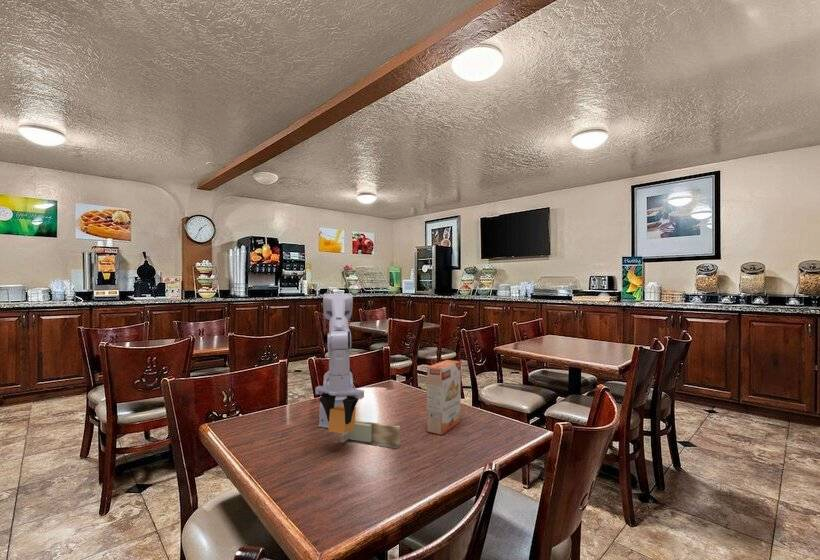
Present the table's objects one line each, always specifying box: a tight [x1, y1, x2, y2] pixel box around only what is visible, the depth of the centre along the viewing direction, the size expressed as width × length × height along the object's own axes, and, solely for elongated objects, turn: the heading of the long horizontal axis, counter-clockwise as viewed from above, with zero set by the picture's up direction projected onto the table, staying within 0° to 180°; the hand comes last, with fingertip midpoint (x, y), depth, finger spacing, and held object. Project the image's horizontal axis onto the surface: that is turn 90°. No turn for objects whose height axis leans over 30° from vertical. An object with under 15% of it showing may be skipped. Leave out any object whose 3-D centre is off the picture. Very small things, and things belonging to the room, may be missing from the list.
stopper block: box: [328, 405, 357, 434], centre depth 109 cm, size 5×6×6 cm
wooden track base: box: [339, 419, 401, 450], centre depth 113 cm, size 18×3×6 cm, turn 70°
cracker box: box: [426, 359, 462, 436], centre depth 125 cm, size 14×6×21 cm, turn 148°
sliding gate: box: [339, 422, 372, 443], centre depth 113 cm, size 8×4×5 cm, turn 70°
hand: (339, 421), depth 108 cm, fingers closed on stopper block, 5 cm apart
